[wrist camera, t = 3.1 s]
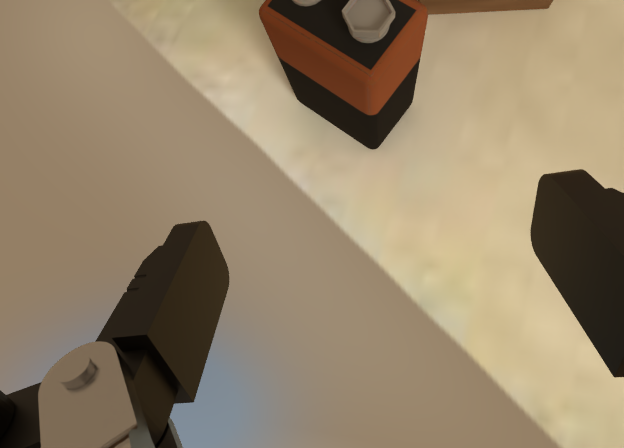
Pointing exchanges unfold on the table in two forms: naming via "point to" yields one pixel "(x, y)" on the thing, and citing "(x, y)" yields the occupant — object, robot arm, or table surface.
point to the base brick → (481, 5)
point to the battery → (350, 59)
